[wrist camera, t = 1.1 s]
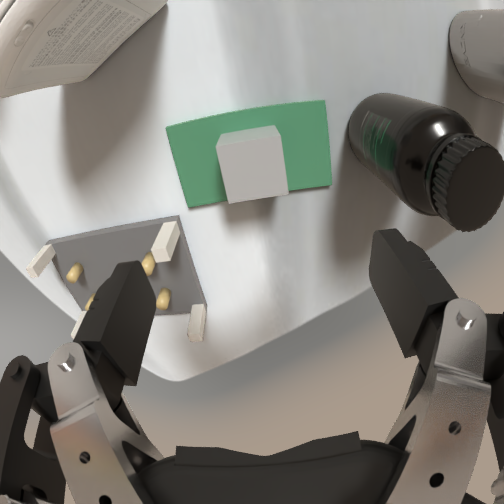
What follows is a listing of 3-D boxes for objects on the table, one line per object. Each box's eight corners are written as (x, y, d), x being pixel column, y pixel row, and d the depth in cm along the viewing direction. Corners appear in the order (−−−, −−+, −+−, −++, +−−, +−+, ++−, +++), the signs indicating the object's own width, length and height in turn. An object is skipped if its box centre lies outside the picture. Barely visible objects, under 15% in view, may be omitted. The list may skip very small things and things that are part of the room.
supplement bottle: (425, 110, 18) (529, 155, 9) (402, 178, 22) (484, 257, 12) (358, 80, 18) (458, 97, 8) (336, 157, 21) (406, 236, 12)
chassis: (179, 215, 24) (165, 247, 20) (207, 305, 30) (202, 341, 26) (48, 240, 25) (25, 268, 21) (89, 312, 31) (75, 341, 27)
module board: (321, 99, 19) (341, 106, 15) (328, 180, 23) (346, 206, 19) (168, 125, 20) (149, 139, 16) (190, 202, 24) (178, 232, 20)
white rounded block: (148, -29, 12) (68, -89, 1) (179, -1, 14) (110, -65, 3) (59, 59, 15) (-53, 80, 5) (84, 88, 17) (-28, 123, 7)
